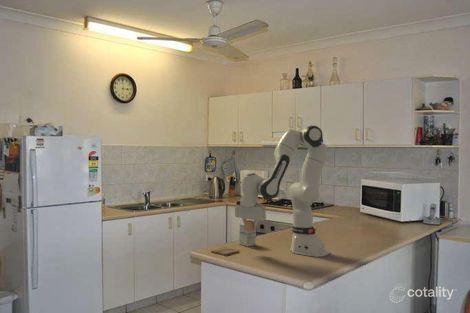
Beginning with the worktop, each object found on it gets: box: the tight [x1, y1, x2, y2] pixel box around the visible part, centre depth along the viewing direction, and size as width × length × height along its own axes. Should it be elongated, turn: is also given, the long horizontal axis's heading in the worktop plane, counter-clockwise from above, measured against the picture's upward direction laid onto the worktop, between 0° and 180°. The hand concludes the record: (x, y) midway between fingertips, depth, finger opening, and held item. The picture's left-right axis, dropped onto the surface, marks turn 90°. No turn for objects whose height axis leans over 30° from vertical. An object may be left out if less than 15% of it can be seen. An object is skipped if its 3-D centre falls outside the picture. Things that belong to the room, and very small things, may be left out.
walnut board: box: [211, 246, 240, 257], centre depth 229 cm, size 11×11×1 cm
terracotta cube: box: [244, 219, 257, 231], centre depth 230 cm, size 5×5×5 cm
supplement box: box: [238, 222, 257, 247], centre depth 248 cm, size 7×7×13 cm
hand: (250, 226), depth 230 cm, fingers closed on terracotta cube, 5 cm apart
